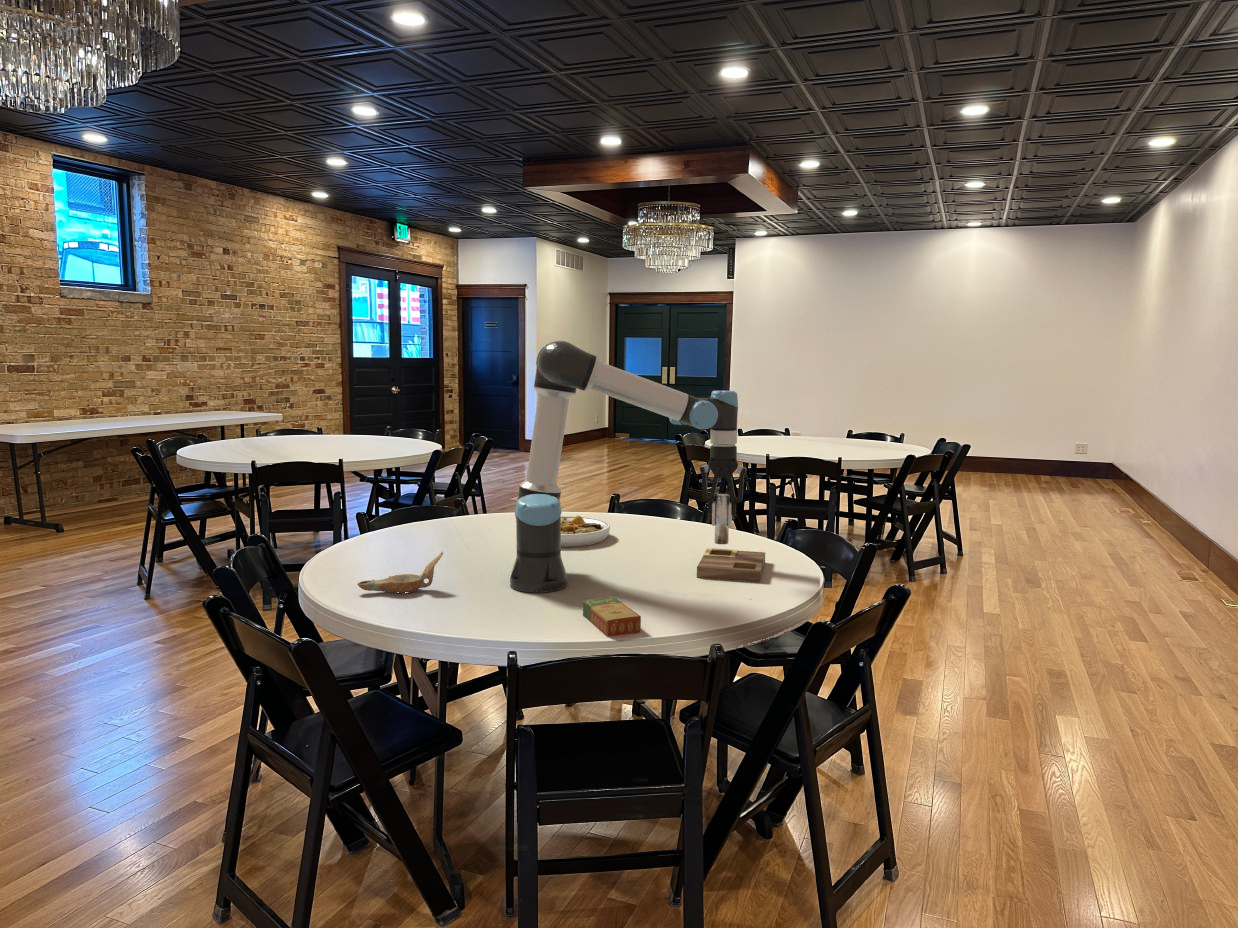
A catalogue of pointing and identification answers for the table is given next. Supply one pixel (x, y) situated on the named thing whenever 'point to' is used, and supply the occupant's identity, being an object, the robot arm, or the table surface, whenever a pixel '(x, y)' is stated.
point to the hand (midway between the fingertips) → (721, 525)
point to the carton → (611, 616)
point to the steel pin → (721, 518)
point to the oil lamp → (402, 580)
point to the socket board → (731, 565)
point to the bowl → (582, 531)
